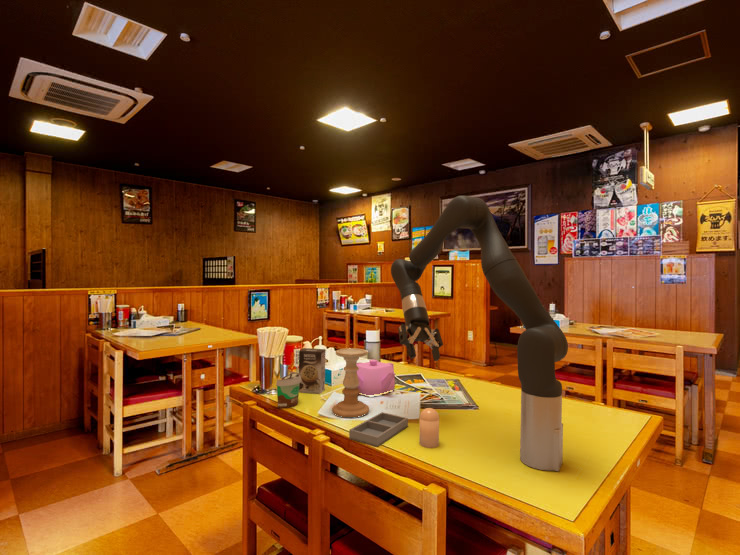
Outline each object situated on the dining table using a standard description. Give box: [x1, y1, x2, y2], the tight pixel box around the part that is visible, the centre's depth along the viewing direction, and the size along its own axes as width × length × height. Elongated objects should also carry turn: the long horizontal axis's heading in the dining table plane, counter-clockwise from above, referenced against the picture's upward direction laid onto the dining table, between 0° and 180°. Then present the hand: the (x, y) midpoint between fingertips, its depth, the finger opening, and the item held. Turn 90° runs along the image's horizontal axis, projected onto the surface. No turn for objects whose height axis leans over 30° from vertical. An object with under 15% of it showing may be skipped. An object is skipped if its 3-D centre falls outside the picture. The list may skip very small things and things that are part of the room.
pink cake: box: [356, 358, 396, 395], centre depth 155 cm, size 17×17×12 cm
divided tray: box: [348, 411, 409, 448], centre depth 115 cm, size 9×17×2 cm, turn 147°
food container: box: [275, 371, 302, 409], centre depth 138 cm, size 12×6×10 cm, turn 168°
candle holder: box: [331, 347, 370, 418], centre depth 131 cm, size 12×12×20 cm
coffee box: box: [298, 347, 327, 395], centre depth 154 cm, size 9×6×16 cm
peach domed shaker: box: [418, 407, 440, 449], centre depth 107 cm, size 5×5×10 cm
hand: (425, 358), depth 118 cm, fingers open, 8 cm apart
